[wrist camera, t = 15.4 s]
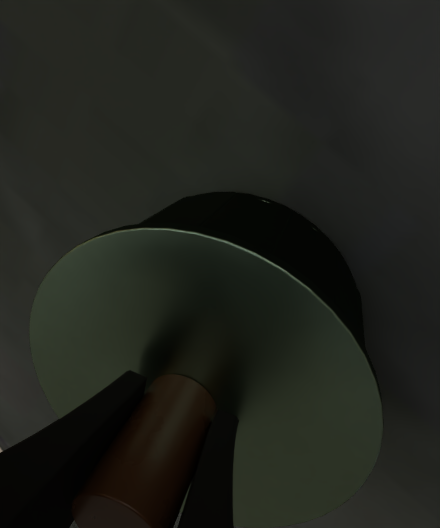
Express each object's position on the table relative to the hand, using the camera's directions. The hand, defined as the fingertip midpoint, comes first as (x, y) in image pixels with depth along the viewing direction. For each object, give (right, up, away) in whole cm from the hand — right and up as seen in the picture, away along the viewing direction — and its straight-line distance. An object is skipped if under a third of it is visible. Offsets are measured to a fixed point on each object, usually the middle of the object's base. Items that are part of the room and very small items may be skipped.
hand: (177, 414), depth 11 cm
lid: (0, 0, +1) cm, 1 cm away
